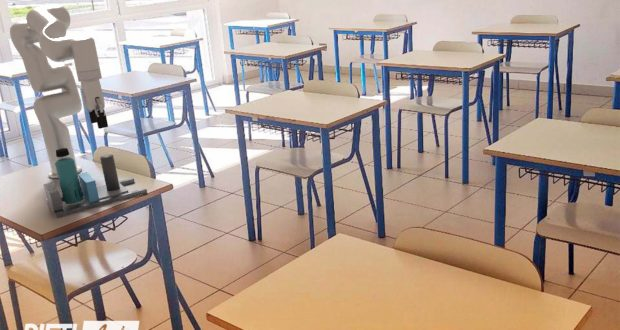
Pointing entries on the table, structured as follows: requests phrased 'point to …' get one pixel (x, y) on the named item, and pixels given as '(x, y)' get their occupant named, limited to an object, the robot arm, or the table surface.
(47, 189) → the clamp frame
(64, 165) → the beverage bottle
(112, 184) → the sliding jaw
